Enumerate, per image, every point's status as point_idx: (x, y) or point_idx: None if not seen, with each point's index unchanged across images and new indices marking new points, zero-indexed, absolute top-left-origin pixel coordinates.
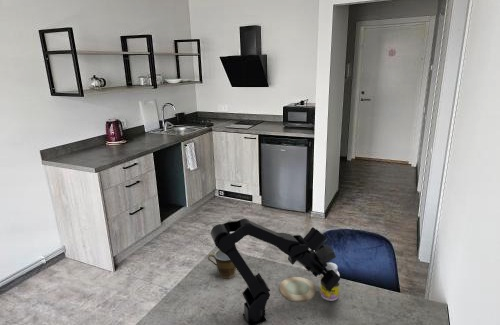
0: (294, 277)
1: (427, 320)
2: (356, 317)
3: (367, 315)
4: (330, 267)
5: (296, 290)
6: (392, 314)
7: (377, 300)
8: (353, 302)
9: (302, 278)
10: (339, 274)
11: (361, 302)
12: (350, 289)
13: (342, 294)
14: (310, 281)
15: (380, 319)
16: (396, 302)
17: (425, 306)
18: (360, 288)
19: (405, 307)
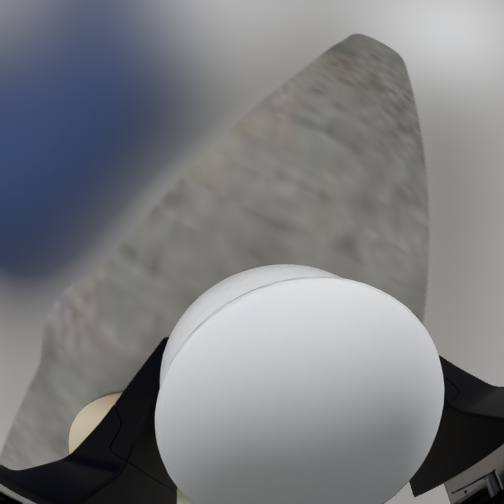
0: (72, 450)
1: (409, 79)
2: (413, 270)
3: (405, 218)
4: (370, 457)
5: (178, 497)
6: (397, 132)
7: (320, 130)
8: (320, 234)
9: (80, 421)
10: (333, 274)
11: (325, 197)
12: (215, 200)
13: (244, 261)
14: (108, 397)
15: (423, 184)
16: (336, 87)
17: (355, 49)
18: (222, 152)
19: (361, 83)
